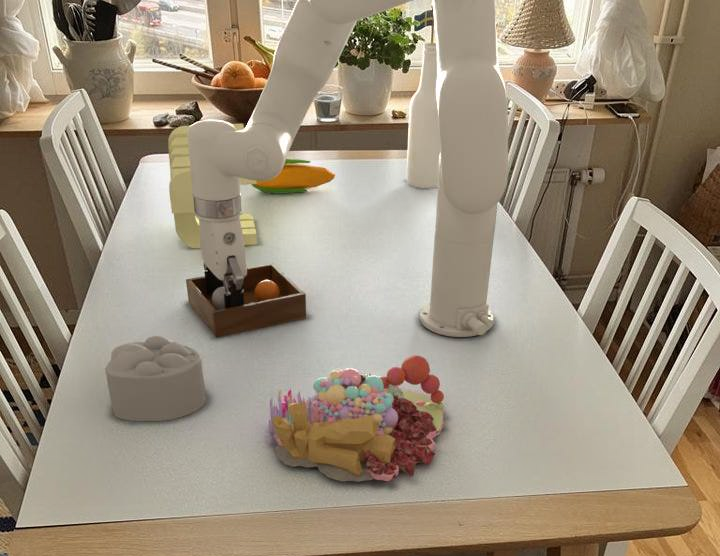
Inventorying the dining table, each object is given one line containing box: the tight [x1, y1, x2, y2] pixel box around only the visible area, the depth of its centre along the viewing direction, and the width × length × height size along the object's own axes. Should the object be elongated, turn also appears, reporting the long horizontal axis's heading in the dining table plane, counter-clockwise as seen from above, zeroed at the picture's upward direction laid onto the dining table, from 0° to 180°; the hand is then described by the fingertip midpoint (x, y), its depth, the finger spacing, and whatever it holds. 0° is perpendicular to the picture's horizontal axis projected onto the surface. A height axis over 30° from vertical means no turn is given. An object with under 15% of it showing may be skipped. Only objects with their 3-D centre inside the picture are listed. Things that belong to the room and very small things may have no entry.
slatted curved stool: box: [167, 123, 259, 249], centre depth 170 cm, size 30×16×18 cm, turn 11°
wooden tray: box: [185, 262, 307, 338], centre depth 147 cm, size 14×16×4 cm
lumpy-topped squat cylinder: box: [104, 335, 207, 422], centre depth 122 cm, size 10×13×9 cm
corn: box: [250, 158, 336, 194], centre depth 195 cm, size 7×8×20 cm
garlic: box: [212, 286, 230, 310], centre depth 145 cm, size 6×5×5 cm
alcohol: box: [405, 42, 440, 189], centre depth 194 cm, size 9×9×30 cm
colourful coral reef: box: [268, 354, 445, 483], centre depth 115 cm, size 25×24×9 cm
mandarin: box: [255, 280, 280, 302], centre depth 148 cm, size 4×4×4 cm
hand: (224, 303), depth 146 cm, fingers open, 9 cm apart
